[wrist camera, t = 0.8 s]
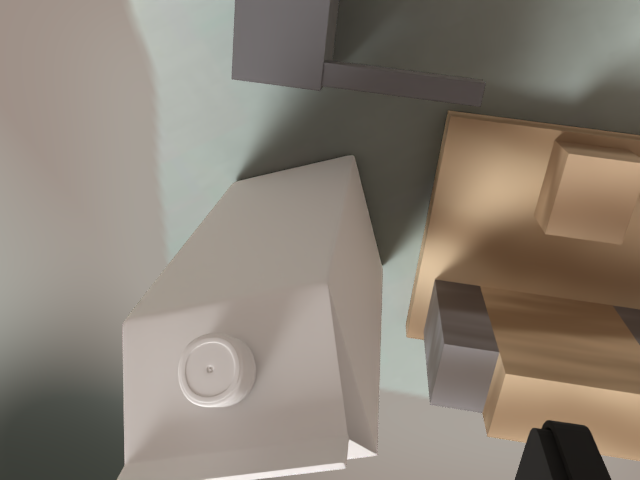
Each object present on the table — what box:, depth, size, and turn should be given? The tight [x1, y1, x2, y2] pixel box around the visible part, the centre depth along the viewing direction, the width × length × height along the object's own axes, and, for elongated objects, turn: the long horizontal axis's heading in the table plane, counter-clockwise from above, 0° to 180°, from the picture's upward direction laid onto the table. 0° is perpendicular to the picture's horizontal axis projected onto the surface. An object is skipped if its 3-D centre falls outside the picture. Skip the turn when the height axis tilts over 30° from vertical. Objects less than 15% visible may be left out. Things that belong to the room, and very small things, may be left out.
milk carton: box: [117, 155, 383, 480], centre depth 25 cm, size 7×7×19 cm
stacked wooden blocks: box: [406, 110, 640, 461], centre depth 28 cm, size 13×14×10 cm
